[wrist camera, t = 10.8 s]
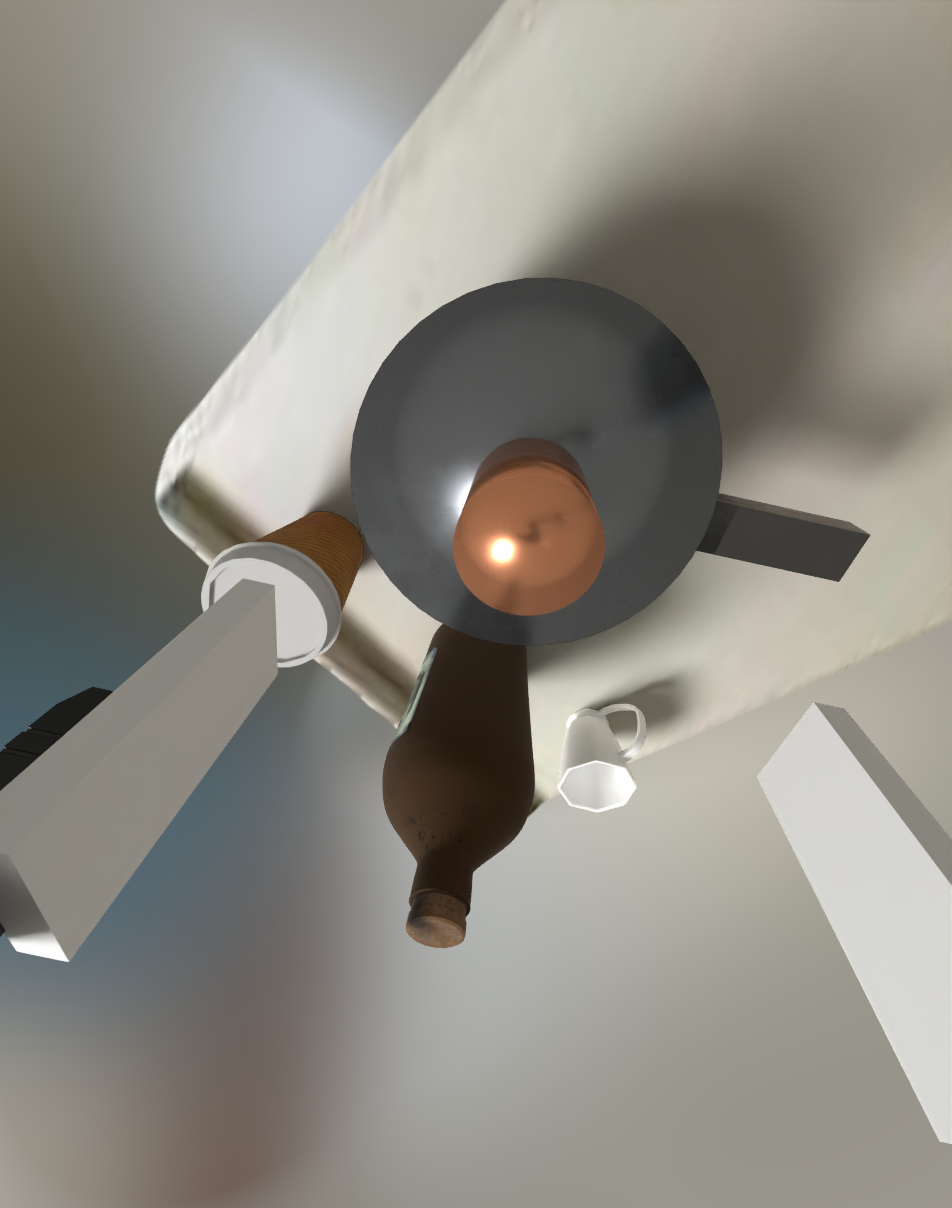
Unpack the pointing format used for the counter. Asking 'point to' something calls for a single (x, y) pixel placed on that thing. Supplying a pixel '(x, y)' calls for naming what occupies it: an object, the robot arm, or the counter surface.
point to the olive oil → (459, 774)
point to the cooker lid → (536, 461)
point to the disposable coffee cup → (296, 580)
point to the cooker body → (782, 538)
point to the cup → (597, 760)
